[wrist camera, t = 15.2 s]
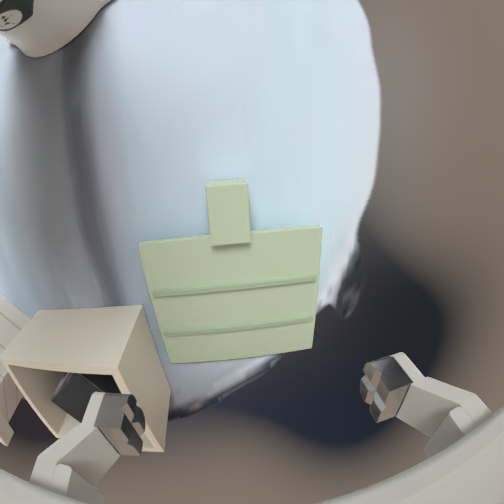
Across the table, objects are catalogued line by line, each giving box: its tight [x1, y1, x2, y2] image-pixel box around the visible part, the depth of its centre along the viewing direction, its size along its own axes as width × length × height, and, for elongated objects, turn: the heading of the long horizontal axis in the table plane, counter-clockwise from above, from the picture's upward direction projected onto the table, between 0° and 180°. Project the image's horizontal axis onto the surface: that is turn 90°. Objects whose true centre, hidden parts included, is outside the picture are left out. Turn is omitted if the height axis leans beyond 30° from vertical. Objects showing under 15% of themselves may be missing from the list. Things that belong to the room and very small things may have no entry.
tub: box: [0, 305, 171, 452], centre depth 29 cm, size 16×18×12 cm
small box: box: [51, 372, 122, 423], centre depth 30 cm, size 11×6×10 cm, turn 130°
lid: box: [138, 178, 322, 363], centre depth 32 cm, size 24×20×4 cm
